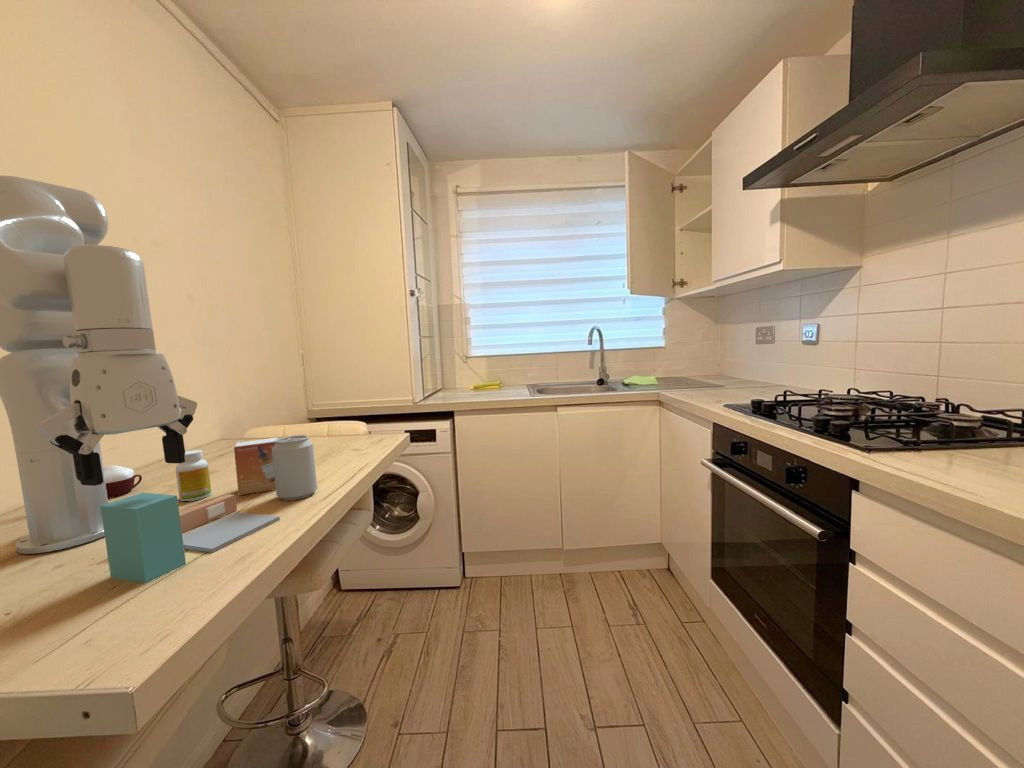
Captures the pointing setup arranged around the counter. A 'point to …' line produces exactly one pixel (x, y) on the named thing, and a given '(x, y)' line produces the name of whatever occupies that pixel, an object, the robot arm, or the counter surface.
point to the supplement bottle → (193, 477)
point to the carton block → (143, 536)
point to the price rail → (207, 512)
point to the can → (294, 467)
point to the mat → (226, 531)
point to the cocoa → (119, 480)
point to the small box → (254, 466)
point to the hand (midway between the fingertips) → (137, 472)
